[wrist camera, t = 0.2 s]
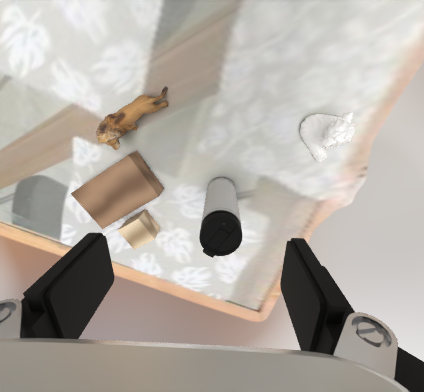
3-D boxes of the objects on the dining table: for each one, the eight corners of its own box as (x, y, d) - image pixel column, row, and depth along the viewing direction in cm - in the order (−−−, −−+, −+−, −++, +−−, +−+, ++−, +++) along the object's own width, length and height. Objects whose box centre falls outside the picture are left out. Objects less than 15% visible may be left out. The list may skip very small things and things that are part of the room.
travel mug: (201, 193, 49) (189, 245, 31) (218, 171, 47) (215, 211, 29) (223, 208, 50) (224, 266, 32) (240, 186, 48) (252, 235, 30)
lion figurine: (128, 147, 46) (107, 156, 38) (108, 127, 45) (82, 132, 36) (176, 98, 42) (165, 95, 34) (156, 74, 40) (140, 66, 32)
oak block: (126, 219, 53) (117, 230, 48) (145, 208, 52) (138, 218, 47) (141, 237, 55) (134, 249, 50) (160, 227, 53) (154, 238, 49)
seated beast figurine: (318, 162, 45) (350, 180, 34) (285, 143, 44) (306, 154, 33) (350, 121, 42) (395, 125, 31) (314, 98, 41) (348, 95, 30)
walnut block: (84, 185, 50) (70, 193, 46) (137, 150, 46) (128, 155, 42) (112, 218, 53) (102, 229, 49) (164, 187, 49) (158, 196, 45)
